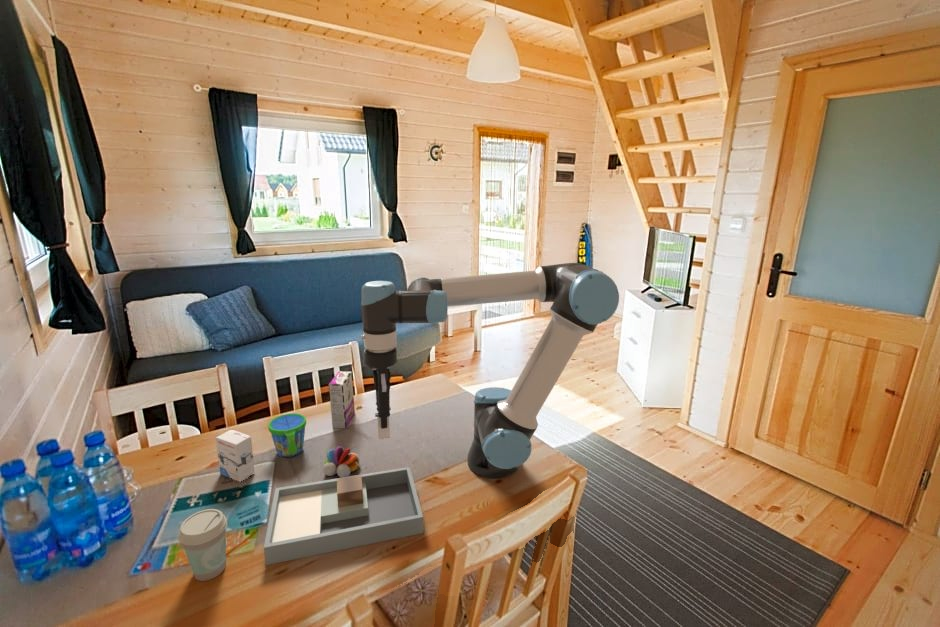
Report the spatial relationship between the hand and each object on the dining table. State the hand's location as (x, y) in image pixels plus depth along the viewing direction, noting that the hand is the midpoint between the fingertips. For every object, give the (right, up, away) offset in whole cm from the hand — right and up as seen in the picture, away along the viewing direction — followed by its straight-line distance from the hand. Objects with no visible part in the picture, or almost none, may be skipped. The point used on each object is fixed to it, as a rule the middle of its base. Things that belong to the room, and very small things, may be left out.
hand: (384, 436), depth 109 cm
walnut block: (-9, -16, +2) cm, 18 cm away
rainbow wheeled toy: (-15, -15, +17) cm, 27 cm away
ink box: (-44, -15, +14) cm, 48 cm away
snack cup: (-34, -12, +25) cm, 44 cm away
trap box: (-9, -19, -2) cm, 21 cm away
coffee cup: (-33, -23, -17) cm, 44 cm away
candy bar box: (-23, -7, +44) cm, 50 cm away
